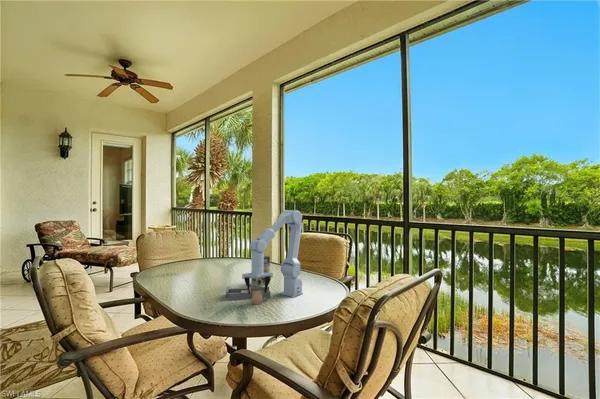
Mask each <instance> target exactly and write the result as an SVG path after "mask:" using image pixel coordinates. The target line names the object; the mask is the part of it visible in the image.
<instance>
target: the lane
mask: <svg viewBox="0 0 600 399" xmlns="http://www.w3.org/2000/svg"><path fill="white" fill-rule="evenodd" d="M262 287H263V291H262V299H267V298H269V299H270V298H273V295H272V292H271V290H270V286H268V287H267V291H266V293H265V292H264V289H265V286H262ZM252 288H253V287H250V291H251V292H250V294H248V292H241V291H242V290H248V288H247V287H240V288H239V287H237V288H229V286H226V289H225V300H226V301H234V300H235V301H237V300H251V299H252Z"/></svg>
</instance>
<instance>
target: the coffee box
mask: <svg viewBox="0 0 600 399" xmlns="http://www.w3.org/2000/svg"><path fill="white" fill-rule="evenodd" d="M270 260H271V258H270V256H267V255H264V273H271V271H270V263H271V262H270ZM250 284H251V285H250V286H253V287H257V286H259V287H265V278H250Z"/></svg>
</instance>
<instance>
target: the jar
mask: <svg viewBox="0 0 600 399" xmlns="http://www.w3.org/2000/svg"><path fill="white" fill-rule="evenodd" d="M263 287H264V286H261V287H259V286H257V287H256V286H253V287H251V288H252V300H251V301H252V303H251V304H253V306H254V305H256V306H257V305H258V306H259V305H262V304H263V298H262V291H263Z"/></svg>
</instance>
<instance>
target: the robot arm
mask: <svg viewBox="0 0 600 399" xmlns="http://www.w3.org/2000/svg"><path fill="white" fill-rule="evenodd" d="M302 221H303V214H302V213H301V212H300V210H293V209H292V210H290V209H289V210H288V209H284V210H283V211H282V212H281V213H280V215H279V217H278V218H277V219H276V220H275V221H274V223H273V224H272V225H271V226H270V227H269V228H264V229H263V230H262V233H260V234H259V235H257V237H256V238H254V239H253V240H251V242H250V244H249V246H248V248H249V249H250V253H251V272H249V273H242V274H241V279H243V280H244V283H245V285H246V288H248V294H250V288H251V285H250V284H251V278H265V285H264V287H265V289H264V292H265V293H266V291H267V287H269V284H270V282H271V278H273V277H274V276H273V275H274V274H273V272H270V273H264V256H265V255H264V254H265V251H266V249H267V247H268V244H269V243H271V241H272V240H273V239H274V238H275V236H276V235H275V234H276V233H277V232H278V231H279V230H280V229H281V228H282V227H283V226H284V225H285V224H287V225H288V226H289V227H290V235H289V240H288V241H289V242H288V247H287V248H288V250H287V256H286V258H284V260H282V262H283V263H282V264H281V266H280V272H281V274H282V276H283V291H280V292H279V293H280V294H281V295H284V296H288V297H290V298H291V297H292V298H295V297H298V296H301V295H303V294H304V293H303V282H302V280H301V279H300V278H299V276H300V275H301V262H300V261H299V259H298V256H299V249H300V244H301V243H300V241H301V237H302V231H303V230H302V229H303V224H302Z"/></svg>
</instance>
